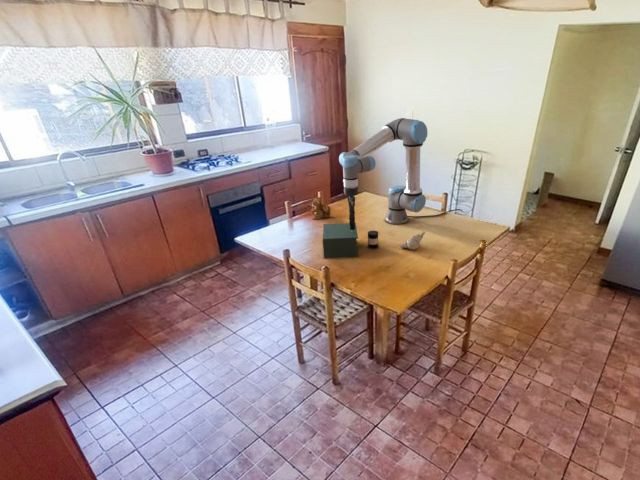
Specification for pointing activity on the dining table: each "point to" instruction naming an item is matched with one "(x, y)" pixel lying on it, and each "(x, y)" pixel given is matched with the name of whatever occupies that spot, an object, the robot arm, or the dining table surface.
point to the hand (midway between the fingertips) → (352, 227)
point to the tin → (372, 239)
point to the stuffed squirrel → (320, 209)
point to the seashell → (413, 242)
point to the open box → (340, 248)
